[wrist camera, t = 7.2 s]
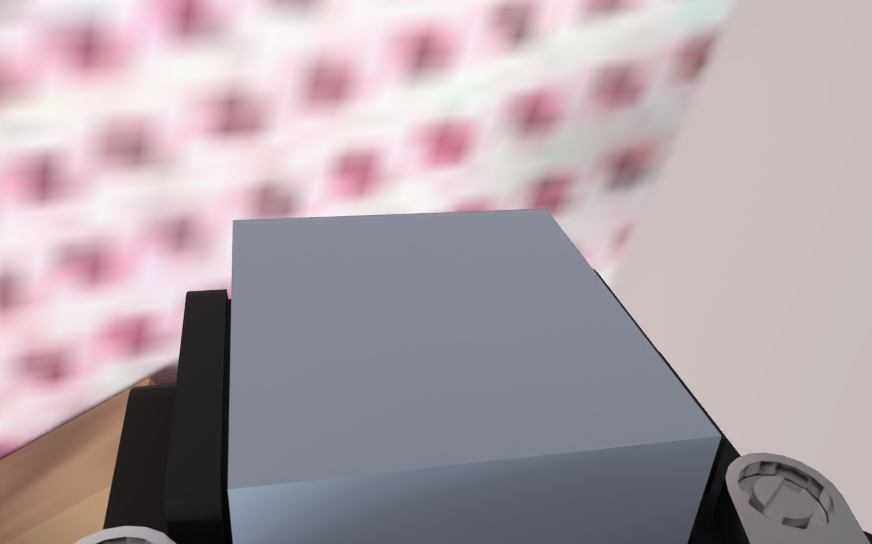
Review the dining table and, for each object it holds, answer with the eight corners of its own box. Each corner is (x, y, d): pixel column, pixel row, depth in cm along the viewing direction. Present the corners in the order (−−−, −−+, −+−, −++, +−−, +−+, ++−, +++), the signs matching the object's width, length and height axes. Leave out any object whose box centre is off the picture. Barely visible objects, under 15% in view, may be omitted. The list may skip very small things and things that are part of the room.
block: (512, 439, 14) (632, 715, 10) (251, 466, 13) (256, 786, 9) (545, 208, 12) (720, 435, 7) (233, 220, 11) (228, 489, 6)
